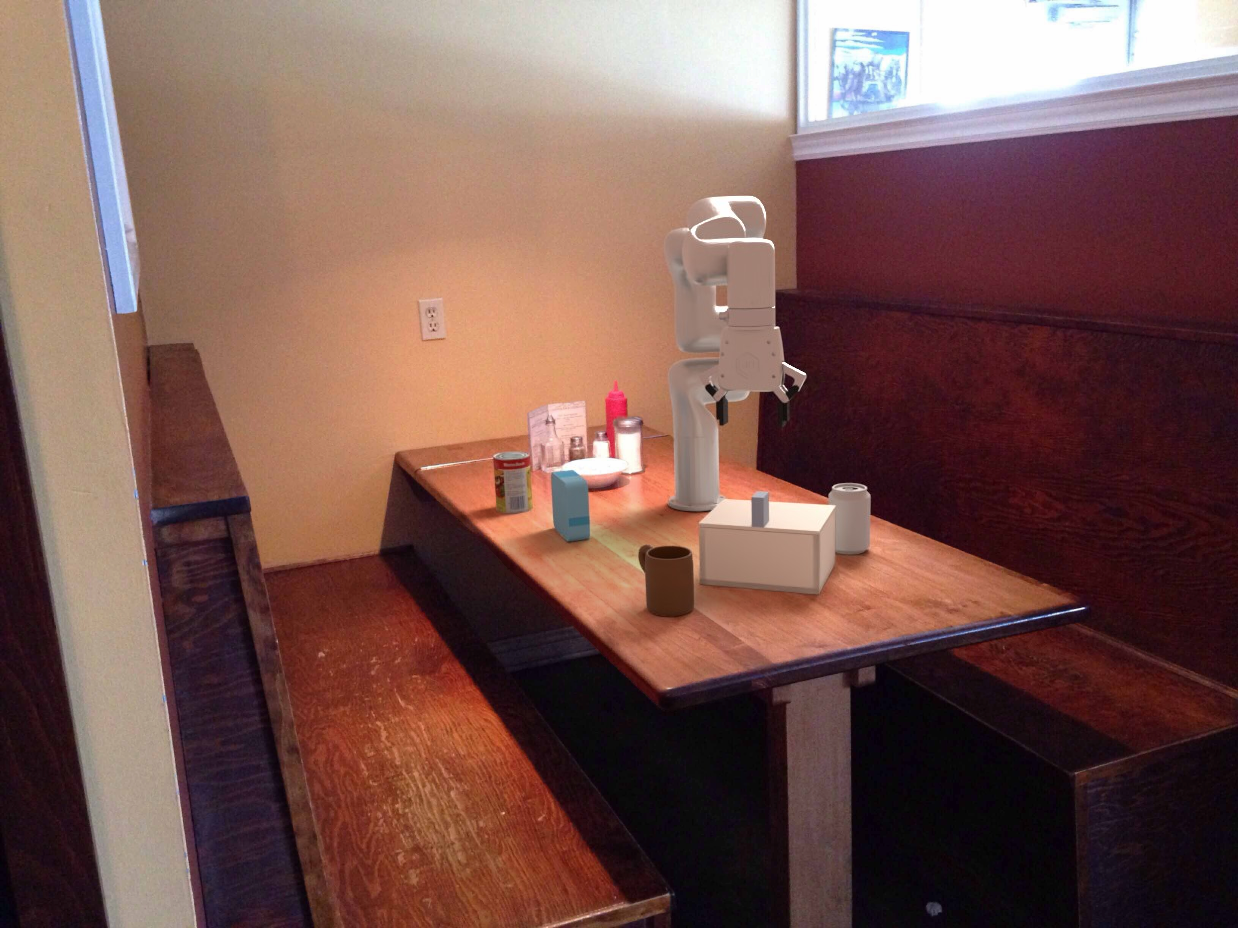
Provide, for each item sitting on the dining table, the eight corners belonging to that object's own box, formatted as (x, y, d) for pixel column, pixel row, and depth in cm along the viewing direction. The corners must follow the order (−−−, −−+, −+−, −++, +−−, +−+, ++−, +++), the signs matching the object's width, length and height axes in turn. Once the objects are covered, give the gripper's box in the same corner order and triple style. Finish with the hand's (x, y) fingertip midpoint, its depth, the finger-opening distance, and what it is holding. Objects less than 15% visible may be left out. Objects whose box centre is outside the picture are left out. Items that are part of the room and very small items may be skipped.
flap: (723, 502, 189) (723, 471, 188) (835, 508, 182) (835, 477, 181) (698, 526, 174) (698, 494, 173) (819, 534, 167) (819, 500, 166)
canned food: (525, 502, 234) (522, 449, 231) (537, 509, 227) (534, 455, 224) (491, 507, 231) (488, 454, 228) (503, 515, 224) (500, 460, 221)
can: (871, 544, 194) (872, 482, 191) (867, 557, 187) (868, 492, 185) (831, 542, 197) (831, 480, 194) (825, 554, 190) (825, 490, 187)
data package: (590, 540, 203) (588, 481, 201) (568, 543, 202) (565, 483, 199) (574, 525, 214) (571, 468, 212) (553, 527, 213) (550, 470, 210)
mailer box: (724, 555, 191) (723, 502, 189) (835, 564, 184) (835, 509, 182) (699, 584, 177) (698, 527, 174) (818, 594, 169) (819, 535, 167)
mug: (622, 599, 171) (620, 544, 169) (661, 589, 175) (659, 535, 172) (664, 621, 161) (662, 563, 159) (704, 610, 165) (702, 553, 162)
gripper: (692, 321, 166) (694, 427, 169) (801, 320, 160) (801, 431, 163) (705, 317, 173) (707, 419, 176) (810, 316, 166) (810, 422, 170)
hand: (752, 425), depth 170 cm, fingers open, 9 cm apart
